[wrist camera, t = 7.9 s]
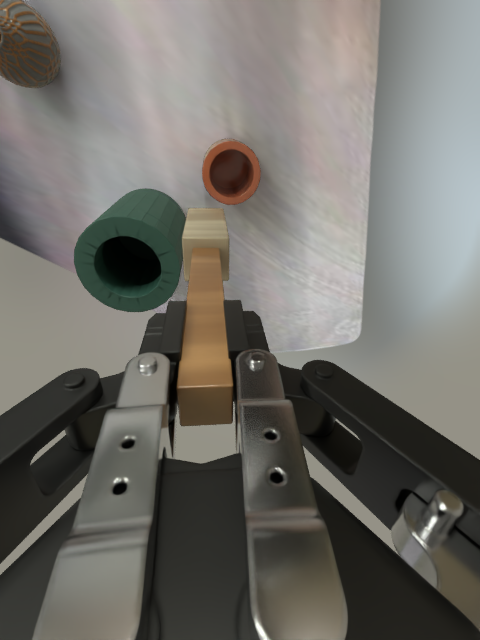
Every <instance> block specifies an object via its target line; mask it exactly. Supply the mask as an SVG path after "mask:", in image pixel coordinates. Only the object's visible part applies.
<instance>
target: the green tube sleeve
mask: <svg viewBox="0 0 480 640" xmlns="http://www.w3.org/2000/svg"><path fill="white" fill-rule="evenodd" d="M185 222H186V218H185V215H184V213H183V211H182V209H181V208H180V207H179V205H178V204H177V203H176V202H175V201H174V200H173V199H172V198H171V197H169V196H168V195H166V194H164V193H162V192H160V191H157V190H153V189H138V190H134V191H131V192H129V193H128V194H126V195H125V196H123V197H122V198H120V199H119V200H118V201H117V202H116V203H115V204H114V205H112V206H111V207H110V208H109V209H108V210H107V211H106V212H104V213H103V214H102V215H101V216H100V217H99V218H97V219H96V220H95V221H94V222H93V223H92V224H91V225H89V226H88V227H87V228H86V229H85V231H84V232H83V233H82V234H81V236H80V237H79V238H78V241H77V244H76V247H75V250H74V264H75V268H76V272H77V275H78V277H79V279H80V281H81V282H82V284H83V286H84V287H85V288H86V289H87V291H88V292H89V293H91V295H92V296H93V297H95V298H96V299H98V300H99V301H100V302H102V303H103V304H105V305H107V306H109V307H112V308H114V309H117V310H122V311H127V312H143V311H148V310H151V309H154V308H156V307H158V306H160V305H162V304H164V303H165V302H166V301H167V300H168V299H169V298H170V297H171V296H172V295H173V293H174V291H175V289H176V287H177V285H178V282H179V277H180V272H181V267H182V261H183V249H182V236H183V231H184V227H185Z"/></svg>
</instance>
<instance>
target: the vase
mask: <svg viewBox="0 0 480 640" xmlns="http://www.w3.org/2000/svg"><path fill="white" fill-rule="evenodd" d="M60 63H61V55H60V49H59V45H58V42H57V40H56V37H55V35H54V33H53V31H52V29H51V28H50V26H49V25H48V23H47V22H46V21H45V20H44V18H43V17H42V16H41V15H40V14H39V13H38V12H37V11H36V10H34V9H33V8H32V7H31V6H29V5H28V4H26V3H25V2H23V1H21V0H0V76H2V77H3V78H5V79H6V80H8V81H10V82H12V83H14V84H16V85H19V86H23V87H29V88H39V87H43V86H45V85H47V84H49V83H51V82H52V81H53V80H54V79H55V77H56V76H57V74H58V72H59V69H60Z"/></svg>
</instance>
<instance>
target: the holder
mask: <svg viewBox="0 0 480 640" xmlns="http://www.w3.org/2000/svg"><path fill="white" fill-rule="evenodd" d="M260 172H261V170H260V165H259V161H258V159H257V157H256V155H255V154H254V152H253V151H252V150H251V149H250V148H249V147H248V146H246V145H245V144H243V143H241V142H240V141H237V140H235V139H221V140H219V141H217V142H215V143H214V144H212V145H211V146H210V147H209V149H208V150H207V152H206V154H205V157H204V161H203V167H202V177H203V182H204V185H205V188H206V189H207V191H208V192H209V194H210V195H211V196H212V197H213V198H214V199H216V200H217V201H219V202H221V203H224V204H227V205H235V204H239V203H242V202H244V201H246V200H247V199H249V198H250V197H251V196H252V195H253V193H254V192H255V191H256V189H257V187H258V184H259V181H260Z"/></svg>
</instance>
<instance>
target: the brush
mask: <svg viewBox="0 0 480 640" xmlns="http://www.w3.org/2000/svg"><path fill="white" fill-rule="evenodd" d="M182 249H183V264H184V278H185V281H189V284H188V292H187V309H186V318H185V327H184V336H183V346H182V355H181V361H180V362H179V370H178V379H177V398H178V408H179V418H180V425H181V426H198V425H216V424H231V423H232V422H233V376H232V366H231V360H230V359H228V348H227V337H226V327H225V316H224V305H223V301H224V300H225V299H224V289H223V281H228V280H229V235H228V230H227V225H226V220H225V215H224V210H223V209H222V208H189V209H188V213H187V217H186V222H185V227H184V231H183V236H182Z"/></svg>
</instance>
